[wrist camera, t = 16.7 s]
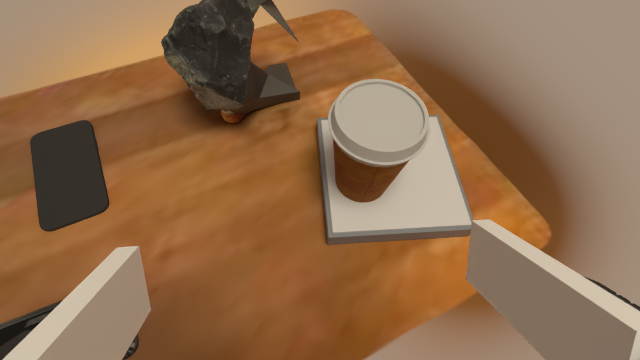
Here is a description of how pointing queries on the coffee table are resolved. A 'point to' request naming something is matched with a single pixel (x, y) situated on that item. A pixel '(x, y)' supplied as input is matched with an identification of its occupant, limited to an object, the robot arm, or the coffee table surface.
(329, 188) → the plate
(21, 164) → the coffee table surface
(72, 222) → the phone
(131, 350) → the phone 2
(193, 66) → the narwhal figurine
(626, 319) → the robot arm
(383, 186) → the disposable coffee cup
